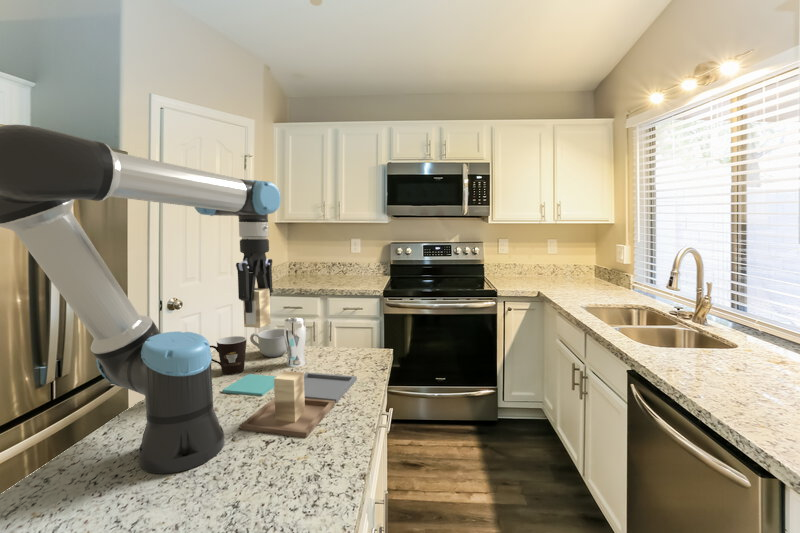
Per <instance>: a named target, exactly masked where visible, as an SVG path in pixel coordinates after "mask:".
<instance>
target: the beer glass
mask: <svg viewBox="0 0 800 533" xmlns="http://www.w3.org/2000/svg"><path fill="white" fill-rule="evenodd" d="M283 321H284V322H283V323H284V325H283V326H284V327H283V329H284V338H285V343H286V348H287V351H286V352H287V357H286V358H287V360H286V366H287V367H289V368H297V367H302V366H305V365H306V363H307V362H306V359H305V358H306V357H305V346H306V341H307V325H306V324H307V323H306V318H305V317H296V316H295V317H287V318H286V319H284V320H283Z"/></svg>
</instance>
